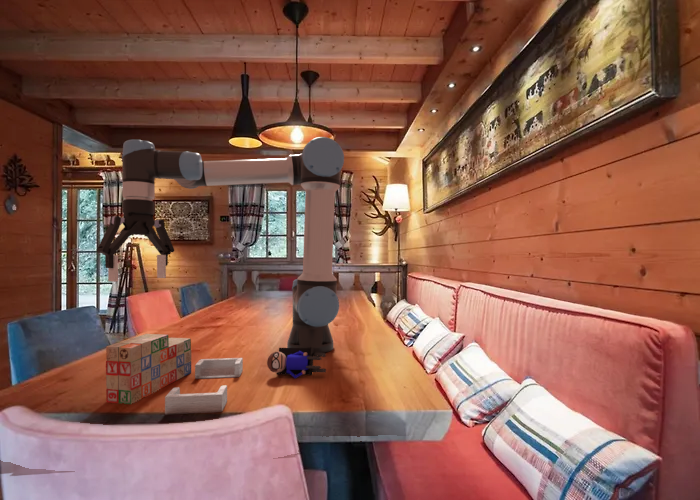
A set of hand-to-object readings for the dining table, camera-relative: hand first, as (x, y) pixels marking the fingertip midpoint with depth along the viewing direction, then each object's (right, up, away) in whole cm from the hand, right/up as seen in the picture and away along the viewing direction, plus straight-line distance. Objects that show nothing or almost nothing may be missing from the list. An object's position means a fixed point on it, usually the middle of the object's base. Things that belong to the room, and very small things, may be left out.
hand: (138, 279), depth 102 cm
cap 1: (+25, -25, -23) cm, 42 cm away
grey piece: (+22, -25, -2) cm, 33 cm away
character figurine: (+43, -25, -3) cm, 50 cm away
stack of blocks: (+9, -25, -10) cm, 29 cm away
